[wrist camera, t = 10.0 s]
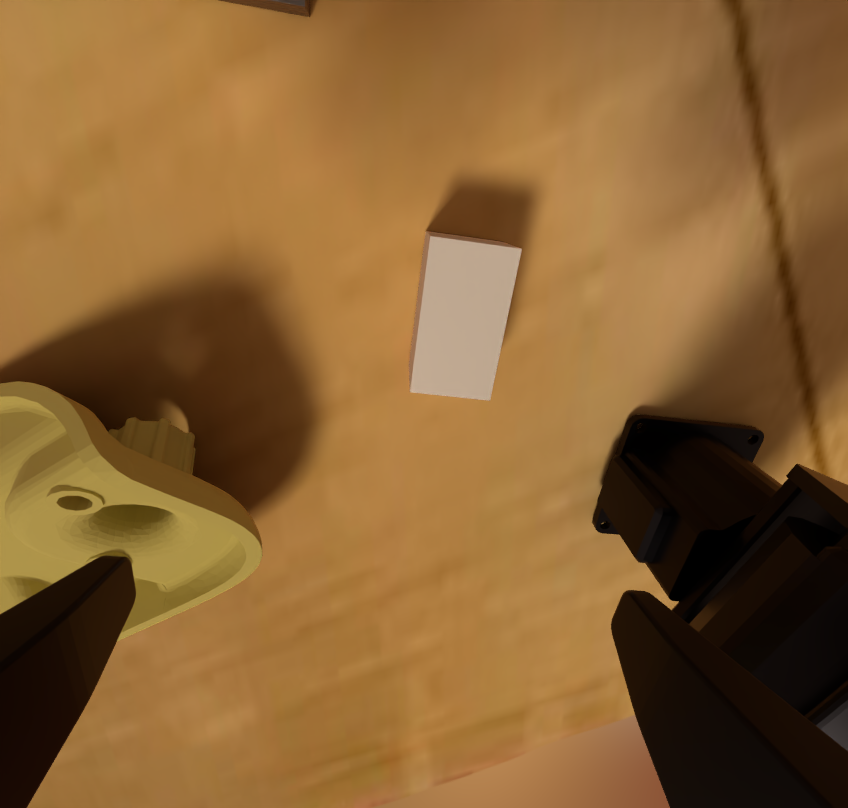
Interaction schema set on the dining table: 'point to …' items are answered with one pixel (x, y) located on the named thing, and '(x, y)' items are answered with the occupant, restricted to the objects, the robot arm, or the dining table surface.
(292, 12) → the chassis
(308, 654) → the dining table surface
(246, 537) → the plastic component
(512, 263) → the white rectangular block
